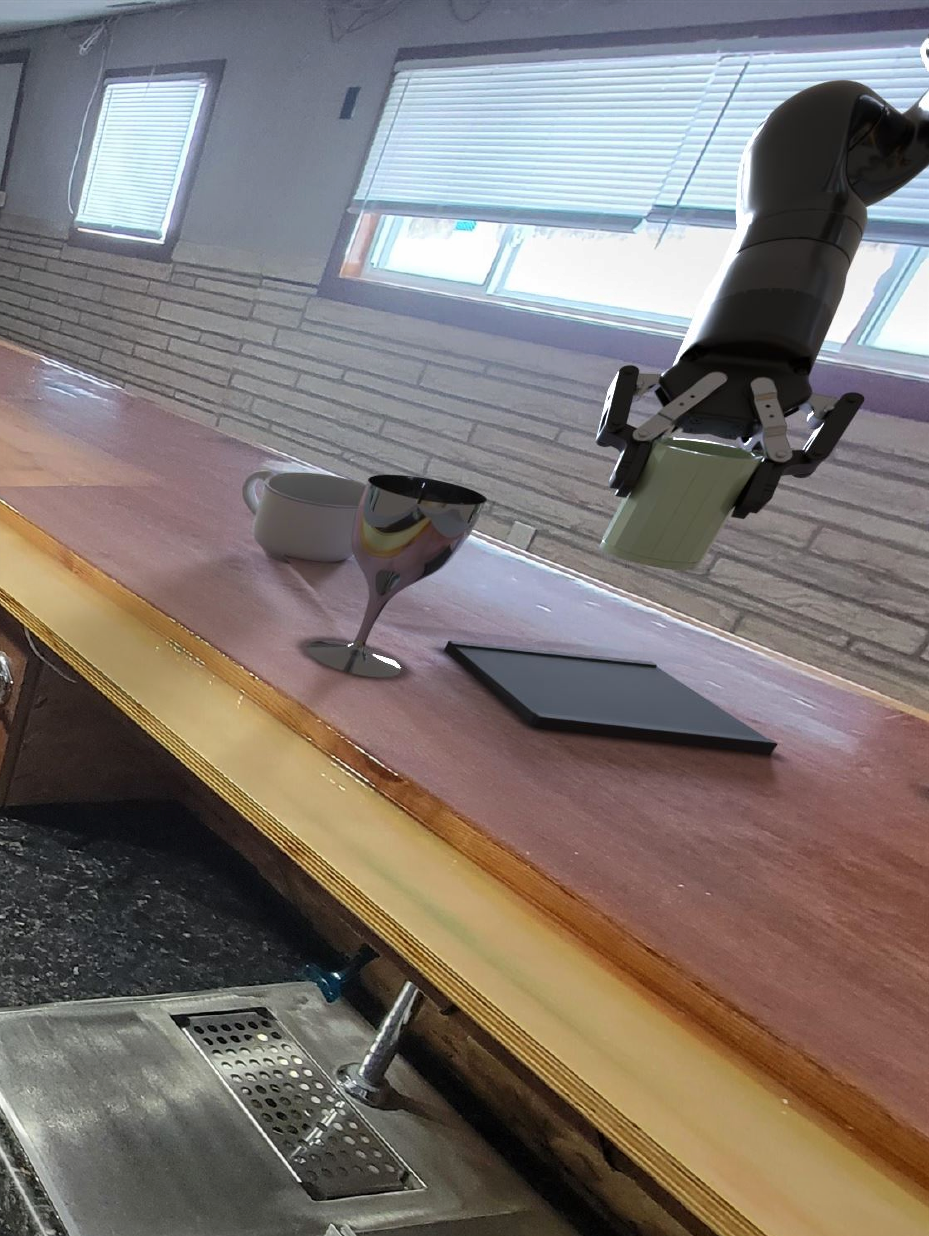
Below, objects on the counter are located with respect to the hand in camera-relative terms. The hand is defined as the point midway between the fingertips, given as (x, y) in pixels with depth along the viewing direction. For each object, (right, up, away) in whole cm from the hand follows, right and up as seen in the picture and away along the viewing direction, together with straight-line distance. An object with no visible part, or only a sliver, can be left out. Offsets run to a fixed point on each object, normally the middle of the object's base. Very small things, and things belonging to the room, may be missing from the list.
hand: (682, 501), depth 75 cm
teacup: (-8, +2, +35) cm, 36 cm away
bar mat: (-1, -15, +6) cm, 16 cm away
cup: (+1, -4, +4) cm, 5 cm away
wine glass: (-17, -11, +11) cm, 23 cm away
